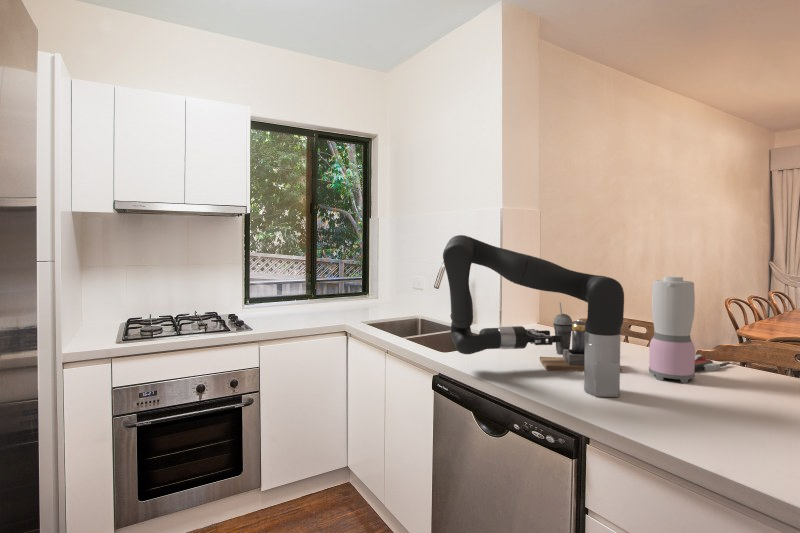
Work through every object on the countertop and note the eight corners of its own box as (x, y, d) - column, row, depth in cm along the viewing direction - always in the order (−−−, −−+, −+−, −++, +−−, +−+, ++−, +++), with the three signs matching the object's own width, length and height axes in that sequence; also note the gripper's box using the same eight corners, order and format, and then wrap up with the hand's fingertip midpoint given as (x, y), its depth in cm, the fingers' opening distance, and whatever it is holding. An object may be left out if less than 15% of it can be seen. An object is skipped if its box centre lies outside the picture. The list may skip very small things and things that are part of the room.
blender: (696, 386, 124) (699, 278, 123) (648, 379, 131) (650, 277, 129) (691, 372, 138) (693, 275, 137) (648, 367, 144) (650, 274, 143)
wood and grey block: (622, 372, 138) (622, 349, 138) (546, 370, 141) (547, 347, 141) (608, 362, 150) (609, 341, 150) (539, 360, 153) (539, 339, 153)
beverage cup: (574, 356, 159) (575, 304, 158) (554, 355, 161) (554, 303, 160) (570, 351, 166) (571, 301, 166) (551, 350, 168) (551, 301, 167)
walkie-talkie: (698, 376, 135) (732, 367, 144) (699, 362, 135) (733, 355, 144) (671, 368, 143) (705, 361, 152) (671, 356, 143) (705, 349, 152)
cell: (587, 364, 143) (588, 321, 142) (573, 363, 144) (574, 320, 143) (583, 360, 148) (584, 319, 147) (569, 360, 148) (570, 318, 148)
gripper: (519, 330, 135) (566, 329, 137) (502, 323, 149) (545, 321, 151) (518, 353, 135) (566, 351, 137) (502, 343, 149) (545, 342, 151)
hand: (555, 336), depth 144 cm, fingers open, 8 cm apart
